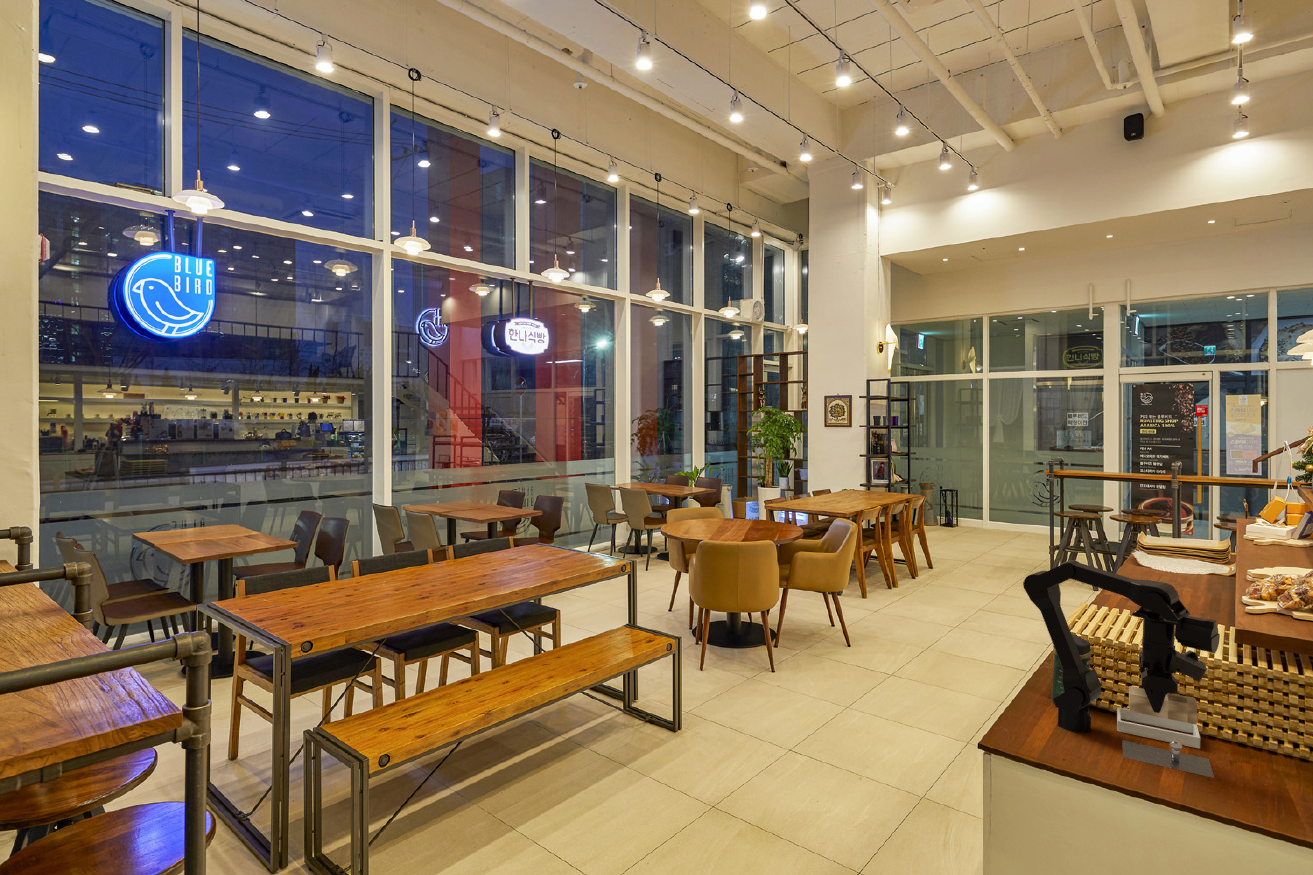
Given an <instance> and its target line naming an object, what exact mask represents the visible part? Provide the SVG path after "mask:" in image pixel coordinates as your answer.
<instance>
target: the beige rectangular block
mask: <svg viewBox="0 0 1313 875" xmlns="http://www.w3.org/2000/svg"><path fill="white" fill-rule="evenodd" d="M1128 709H1129V711H1131V712H1136V713H1141V714H1146V715H1151V716H1156V717H1161V718H1166V719H1171V720H1176V721H1181V722H1186V723H1191V724H1196V725H1197V726H1198V705H1197V700H1196V698H1195V697H1190V696H1185V695H1179V694H1177V693H1176V694H1174V693H1167V694H1166V697H1165V699H1164V702H1163V705H1162V708H1161V711H1160V713H1156V712H1154V711H1153V709H1152V707H1151V704H1150V702H1149V699H1148V697H1147V695H1146V693H1145V690H1144V688H1143V687H1137V686H1131V685H1129V686H1128Z"/></svg>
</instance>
